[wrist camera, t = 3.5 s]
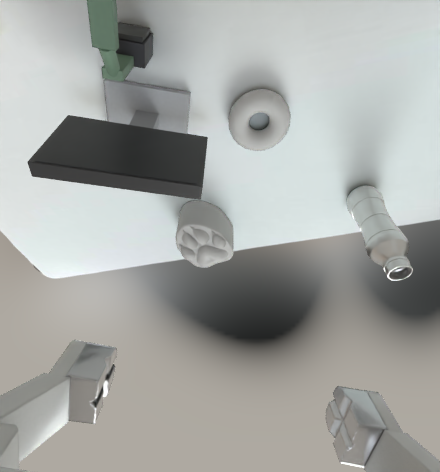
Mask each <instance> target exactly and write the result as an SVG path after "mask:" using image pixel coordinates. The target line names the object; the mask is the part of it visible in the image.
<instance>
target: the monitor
mask: <svg viewBox="0 0 440 472" xmlns="http://www.w3.org/2000/svg"><path fill="white" fill-rule="evenodd" d="M104 86H105V96H106V106H107V115H108V121H102V120H96V119H89V118H83V117H77V116H70V115H68V116H67V117H66V118H65V119H64V121H63V122H62V123H61V124H60V125H59V126H58V128H57V129H56V130H55V131H54V132H53V133H52V134H51V136H50V137H49V138H48V139H47V140H46V141H45V142H44V144H43V145H42V146H41V147H40V148H39V149H38V151H37V152H36V153H35V154H34V155H33V156H32V157H31V159H30V160H29V161H28V165H29V168H30V171H31V174H32V176H33V177H40V178H48V179H55V180H62V181H69V182H77V183H84V184H91V185H98V186H106V187H113V188H120V189H127V190H135V191H142V192H149V193H157V194H164V195H171V196H178V197H186V198H193V199H201V194H202V187H203V178H204V168H205V158H206V148H207V139H208V137H203V136H197V135H191V134H187V127H188V115H189V104H190V92H187V91H181V90H175V89H170V88H164V87H158V86H152V85H146V84H140V83H135V82H129V81H123V82H121V81H116V80H110V79H105V80H104Z"/></svg>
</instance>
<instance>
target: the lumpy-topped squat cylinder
mask: <svg viewBox="0 0 440 472" xmlns="http://www.w3.org/2000/svg"><path fill="white" fill-rule="evenodd" d="M176 244H177V248H178V249H179V251H180V252H181V253H182V256H183V257H184V258H185V259H186V260H189V261H190V262H191V263H192V264H194V265H195V266H198V267H205V268H206V267H209V266H212V265H214V264H216V263H218V262H223V261H227V260H229V259H231V258H232V256H233V226H232V224H231V222H230V221H229V219H228V218H227V216H226V215H225V214H224V212H223V211H222V210H221V209H220V208H218V207H216V206H214V205H212V204H210V203H207V202H204V201H190V202H187V203H186V204H184V205H183V207H182V209H181V211H180V215H179V221H178V226H177V232H176Z"/></svg>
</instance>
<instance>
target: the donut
mask: <svg viewBox="0 0 440 472" xmlns="http://www.w3.org/2000/svg"><path fill="white" fill-rule="evenodd" d="M256 113H265V114H266V115H268V117H269V119H270V120H269V124H268V126H267V127H266V128H265V129H263V130H259V131H257V130H254V129H252V128H251V127H250V125H249V120H250V118H251V116H253V115H254V114H256ZM228 120H229V130H230V132H231V135H232V137H233V139H234V140H235V141H236V142H237V143H238V144H239V145H240V146H242V147H244V148H246V149H249V150H253V151H262V150H266V149H269V148H272V147H274V146H275V145H276V144H278V143H279V142H280V141H281V140H282V139H283V138H284V136H285V135H286V134H287V131H288V129H289V126H290V111H289V107H288V105H287V103H286V102H285V101H284V99H283V98H282V97H281V96H280V95H278V94H277V93H275V92H274V91H270V90H266V89H258V90H252V91H250V92H248V93H245V94H244V95H242V96H241V97H240V98H239V99H238V100H237V101H236V102H235V104H234V105H233V107H232V109H231V111H230V115H229V119H228Z"/></svg>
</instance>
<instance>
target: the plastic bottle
mask: <svg viewBox="0 0 440 472" xmlns="http://www.w3.org/2000/svg"><path fill="white" fill-rule="evenodd" d="M346 203H347V209H348V211H349V213H350V214H351V215H352V217H353V218H354V219H355V221H356V222H357V224H358V226H359V227H360V230H361V232H362V235H363V238H364V242H365V246H366V250H367V253H368V256H369V257H370V258H371V259H372V260H373V261H374V262H376V263H377V264H379V265H382V266H383V269H384V271H385V272H386V274H387V277H388V278H389V279H390V280H395V281H397V280H402V279H405V278H407V277H408V276H410V275H411V274H412V267H411V265H410V262H409V260H408V258H406V257H407V254H408V250H409V243H408V239H407V238H406V237H405V235H404V234H403V233H402V232H401V230H400V229H399V228H398V227H397V226H396V225H395V223H394V222H393V220H392V219H391V217H390V216H389V214H388V212H387V210H386V207H385V205H384V200H383V197H382V195H381V193H380V192H379V191H378V190H377V189H376V188H375V187H373V186H360V187H357V188H355V189H354V190H353V191H352V192H351V193H350V194H349V196H348V198H347V201H346Z"/></svg>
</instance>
